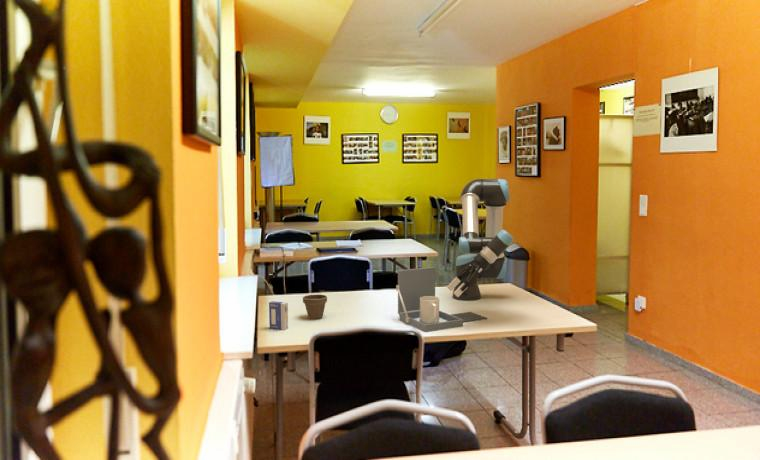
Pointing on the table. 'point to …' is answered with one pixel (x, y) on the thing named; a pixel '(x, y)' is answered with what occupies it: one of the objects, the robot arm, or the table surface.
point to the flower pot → (315, 305)
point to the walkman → (278, 315)
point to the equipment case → (409, 294)
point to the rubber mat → (469, 316)
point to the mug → (429, 309)
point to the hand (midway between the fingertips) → (452, 292)
